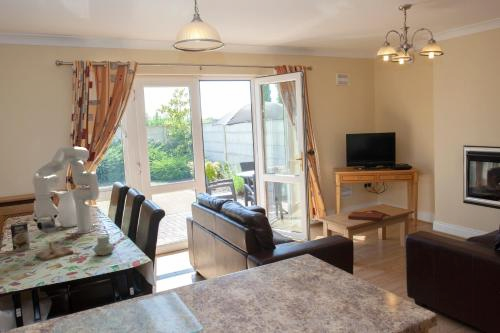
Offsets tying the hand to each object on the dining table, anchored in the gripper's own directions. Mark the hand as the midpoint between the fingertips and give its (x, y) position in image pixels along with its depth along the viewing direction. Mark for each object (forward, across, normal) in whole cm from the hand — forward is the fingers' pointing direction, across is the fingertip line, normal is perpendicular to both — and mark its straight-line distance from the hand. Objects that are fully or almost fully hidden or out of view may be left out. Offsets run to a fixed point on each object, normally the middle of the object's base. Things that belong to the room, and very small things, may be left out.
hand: (46, 227), depth 227 cm
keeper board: (+16, -2, +4) cm, 17 cm away
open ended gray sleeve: (+1, 0, +4) cm, 4 cm away
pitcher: (+16, -31, -64) cm, 73 cm away
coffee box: (+16, +8, -26) cm, 31 cm away
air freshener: (+16, -21, +28) cm, 39 cm away
